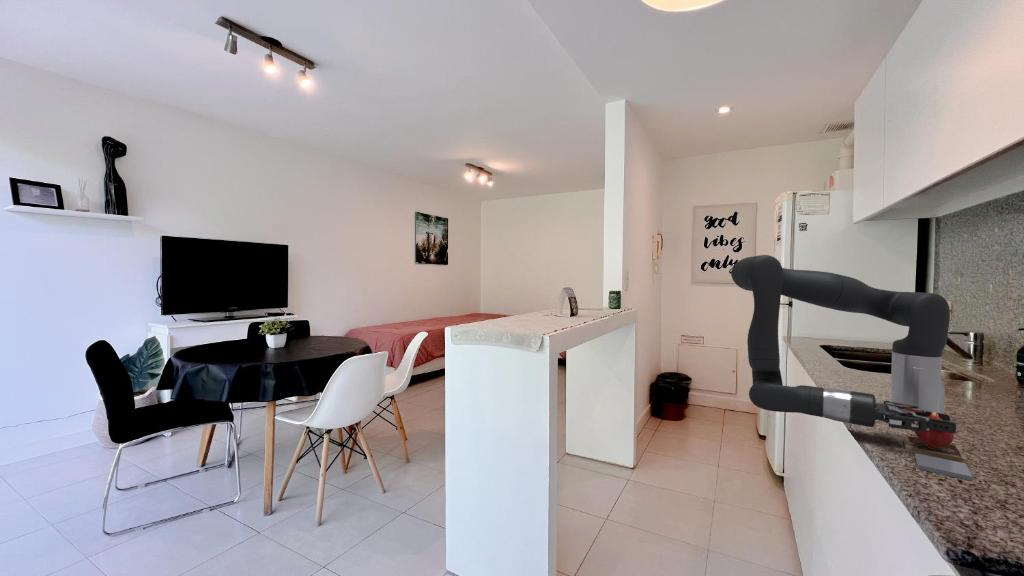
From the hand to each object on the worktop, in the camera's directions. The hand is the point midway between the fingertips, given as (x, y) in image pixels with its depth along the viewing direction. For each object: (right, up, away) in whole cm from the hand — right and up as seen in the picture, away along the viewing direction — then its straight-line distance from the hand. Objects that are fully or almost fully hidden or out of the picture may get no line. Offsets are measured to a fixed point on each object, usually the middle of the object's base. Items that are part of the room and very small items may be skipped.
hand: (951, 423), depth 85 cm
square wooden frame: (-2, -6, +2) cm, 7 cm away
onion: (-2, -6, +2) cm, 7 cm away
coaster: (-9, -7, -6) cm, 12 cm away
